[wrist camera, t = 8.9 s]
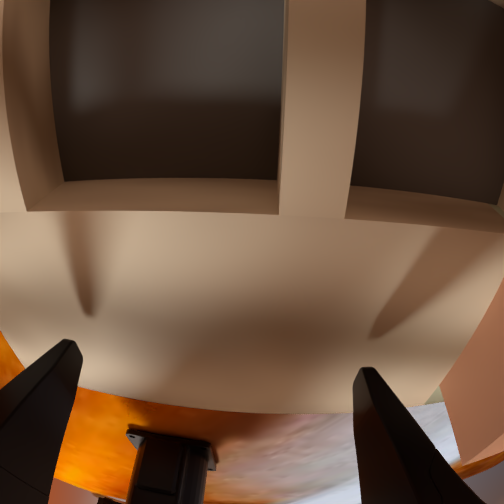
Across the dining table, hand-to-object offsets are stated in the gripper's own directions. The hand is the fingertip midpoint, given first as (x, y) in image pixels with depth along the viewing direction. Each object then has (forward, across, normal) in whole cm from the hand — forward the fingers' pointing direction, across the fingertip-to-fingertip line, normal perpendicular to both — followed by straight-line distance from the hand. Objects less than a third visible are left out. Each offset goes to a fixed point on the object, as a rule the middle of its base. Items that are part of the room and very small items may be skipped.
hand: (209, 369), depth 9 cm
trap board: (+3, -3, -4) cm, 6 cm away
